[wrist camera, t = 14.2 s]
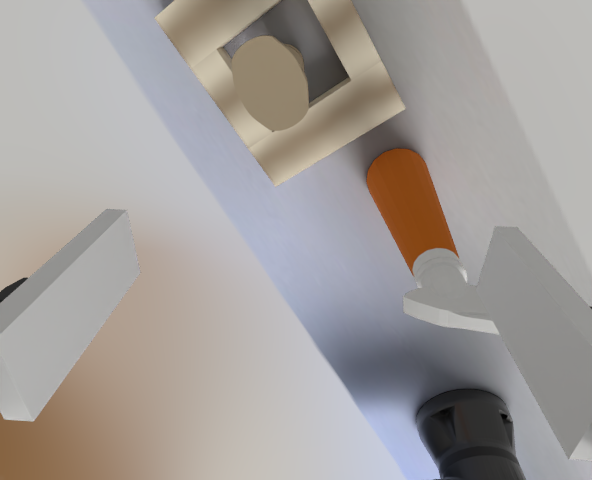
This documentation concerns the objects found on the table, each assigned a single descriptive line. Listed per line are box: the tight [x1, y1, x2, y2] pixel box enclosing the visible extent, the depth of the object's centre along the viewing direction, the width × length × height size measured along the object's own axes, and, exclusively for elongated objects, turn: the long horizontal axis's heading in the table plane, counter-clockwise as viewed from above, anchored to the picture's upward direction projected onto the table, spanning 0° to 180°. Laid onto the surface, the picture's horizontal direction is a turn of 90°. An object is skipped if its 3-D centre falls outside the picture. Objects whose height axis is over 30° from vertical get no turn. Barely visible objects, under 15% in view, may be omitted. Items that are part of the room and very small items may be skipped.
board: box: [155, 0, 406, 187], centre depth 39 cm, size 20×16×3 cm
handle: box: [231, 35, 309, 131], centre depth 34 cm, size 5×6×15 cm
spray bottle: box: [366, 148, 500, 335], centre depth 35 cm, size 7×11×26 cm, turn 99°
